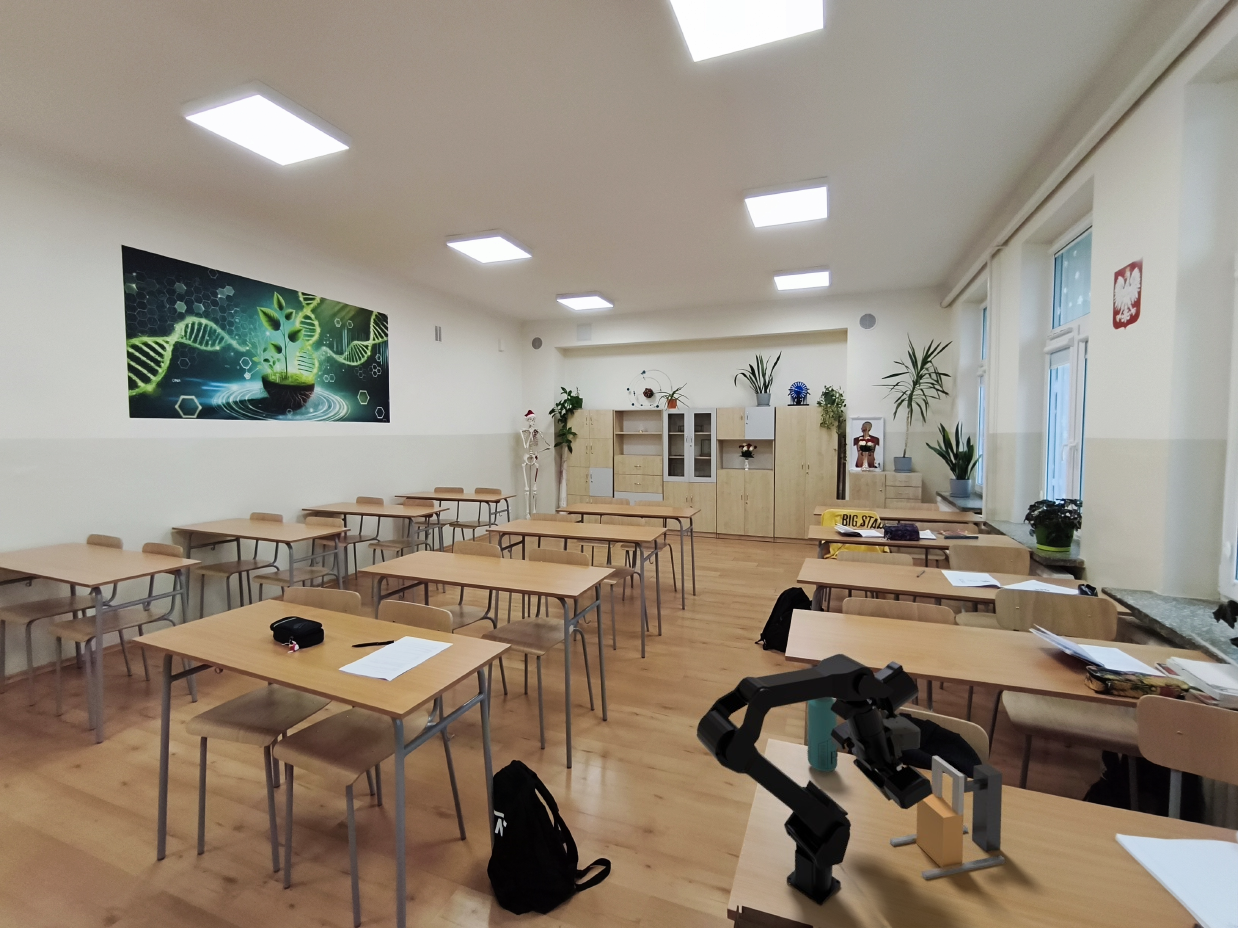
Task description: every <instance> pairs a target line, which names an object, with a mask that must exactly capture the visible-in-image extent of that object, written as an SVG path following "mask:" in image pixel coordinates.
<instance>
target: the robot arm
mask: <svg viewBox="0 0 1238 928" xmlns="http://www.w3.org/2000/svg"><path fill="white" fill-rule="evenodd" d="M919 690H920V689H919V686H918V684H917V683H915V681H914V680H913V679H912V677H911V676H910V675H909V673H907V672H906V671H905V670H904V667H903V665H902V664H900V663H897V662H896V661H893V660H892V661H890V662H889V663H888V664H886V666H885V667H883V668H882V669H880V670H879V671H877V672H876V673H874V671H873V670H872V669H871V667H869V666H867V665H865V664H863V663H861V662H859V661H857V660H855V659H853V658H851V657H850V656H848V655H846V654H843V653H836V654H834V655H831V656H829V657H826V658H823V659H821V660H820V662H819V663H818V665H816V666H813V667H810V668H804V669H798V670H793V671H792V670H791V671H787V672H780V673H775V674H769V675H768V674H767V675H764V676H763V675H762V676H746V677H744V678H742V679H741V680H740V681H739V682H738V684H737V685H736V686H735V687H734V689H732V690H731V691H729V692H728V693H726V694H724V695H722V696H721V697H719V698H718V699H717V700H716V701H715V702H714V704H712V705H711V707H710V708H709V709H708V711H706V713H705V714H704V715H703V716H702V717H701V719H700V720H699V722H698V725H697V727H696V737H697V740H698V741H699V742H700V743H701V744H702V745H703V746H704V748H705V749H706V750H707V751H708V752H709V753H710V754H711V755H712V756H713V758H714V759H715V761H717V762H718V764H719V765H721V766H722V767H723V768H725V769H727V770H730V771H732V772H734V773H737V774H739V775H743V774H744V775H747V776H749V777H750V779H752V780H753V781H755V782H756V783H757V784H759V785H760V786H761V787H762V788H763V789H765V790H766V791H767V792H769V793H770V794H771V795H772V796H773V797H775V798H776V799H778V800H779V801H780V802H781V803H782V804H784V805H785V806H786V807H787V808H789V809H790V810H791V811H792V812H791V814H790V815H789V817H788V818H787V819H786V820H785V822H784V824H783V826H784V830H785V832H786V834H787V836H789V837H790V838H791V839H792V840H793V842H794V843H795V850H794V870H793V871H792V872H790V874H788V875H787V877H786V882H787V883H788V884H789V885H791V886H792V887H794V888H795V889H796V890H797V891H799V892H800V893H802V894H803V895H805V896H806V897H808V898H809V899H811V901H813V902H815V903H816V904H817V905H820V906H821V905H822V906H823V904H825V903H826V902H827V900H829V899H830V898H831V897H832V895H833V894H834V893H835V892H837V890H838V889H840V887H841V885H842V883H841V881H840V880H839V879H838V878H836V877H835V876H833V867H834V866H836V865H839V864H842V863H843V862H844V859H845V855H846V852H847V848H848V845H849V843H850V842H849V841H850V838H851V827H852V824H851V821H850V820H849V818H848V817H847V816H848V815H849V812H847V811H846V810H845V809H844V808H843V806H841V805H840V804H838V803H837V802H836V800H834V799H833V798H832V797H831V796H830V795H828V793H826V792H825V791H824V790H823V788H819V787H818V786H817V785H816V784H815V783H814V782H813V781H811V780H810V779H809V780H808V782H807V784H806V786H802V785H800V784H799V783H797V782H796V781H794V780H793V779H792V778H791V777H790V776H789V775H787V774H786V773H785V772H784V771H782V769H780V768H778V766H777V765H775V764H774V763H773V762H772V761H771V760H769V759H768V758H767V757H765V755H763V754H762V753H761V752H759V750H758V748H757V746H756V745H755V744H756V743H757V742H758V740H759V739H760V736H761V733H762V728H763V725H764V721H765V717H766V715H767V714H768V713H769V712H770V710H771V709H774V708H779V707H785V706H789V705H793V704H795V705H796V704H799V703H804V702H805V703H806V702H808V701H811V700H816V699H821V698H833V699H834V700H835V703H833V704H832V706H831V708H830V710H831V711H832V712H834V713H835V714H836V715H837V717H839V718H841V719H842V720H844V722H842V723H841V724H839V725H837V727H835V728H833V730H832V732H831V738H832V741H833V743H834V744H835V745H836V746H837V749H838V750H840V751H841V752H842V751H844V750H846V744H847V743H849V742H851V743H853V744H854V747H852V748H851V753H852V755H854V756H855V758H854V760H853V761H852V764H853V765H854V766H855V767H856V768H857V769H858V771H860V772H861V773H862V775H864V776H865V777H866V779H867V780H868V782H870V783H871V784H872V785H873V786H874V787H875V788H876V789H877V790H878V791H879V792H880V794H881V795H882V796H883V797H884V798H885V799H886V800H887V801H889V802H890V801H893V802H894V803H895V804H896V805H897V806H898V807H899V808H900V809H902V810H908V809H910V808H911V807H913V806H915V805H917V803H918V802H920V801H921V800H923V799H925V798H926V797H928V796H930V795H931V794H933V789H932V781H931V779H930V778H928V777H926V776H925V775H924V773H922V772H921V771H920V770H918V769H917V768H916V767H915V766H912V765H910V764H908V765H906V766H903V765H904V764H903V762H902V761H901V760H900V759H899V758H900V757H902V756H903V754H902V751H905V750H911V749H915V750H917V749H919V748H920V746H921V745H920V744H921V729H920V728H919V727H918V726H917V725H915V724H914V723H913V722H912V721H910V720H909V719H908V718H907V717H904V716H902V715H899V714H896V711H898V710H899V709H900V708H902V707H903V706H904V705H906V704H908V703H909V702H910V701H912V700H913V699H914V698H916V697H917V696H918V695H919ZM744 707H746V709H745V710H746V711H745V715H744V718H743V722H742V723H741V725H740V726H737V724H735V723H734V722H733V721H732V720H731V719H730V717H731V715H733V714H734V713H736V712H737V711H739V710H741V709H743V708H744Z"/></svg>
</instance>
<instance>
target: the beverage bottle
mask: <svg viewBox="0 0 1238 928" xmlns="http://www.w3.org/2000/svg"><path fill="white" fill-rule="evenodd" d="M835 701H836V699H835V698H821V699H816V700H811V701H807V739H806V743H807V745H806V746H807V752H806V756H807V761H808V764H809V765H810V766H811V767H812V768H814V769H815V770H818V771H821V772H832V771H835V770H836V768H837V767H838V760H839V759H838V755H839V753H838V752H839V749H838V747H837V746H836V745H835V744H834V743H833V741H832V738H831V732H832V730H833V728H835V727H837V726H838V715H836V714H835V713H834V712H832V711H831V710H830V708H831V706H832V704H833V703H835Z"/></svg>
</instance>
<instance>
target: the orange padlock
mask: <svg viewBox="0 0 1238 928" xmlns="http://www.w3.org/2000/svg"><path fill="white" fill-rule="evenodd" d="M943 772H944V773H943ZM961 773H962V772H960V771H958V769H956V768H954V767H953V766H952V765H950V764H949V763H948V762H947V761H945V760H944V759H942V758H941V757H940V756H938V755H933V756H931V786H932V789H933V794H931V795H930V796H928V797H926V798H925V799H923V800H921V801H920V802H918V803H917V804H916V834H917V835H916V842H915V843H916V845H917V846H918V847H919V848H920V849H921V850H923V852H924V853H926V854H927V855H928V856H929V857H930V858H931V859H932V860H933V861H934V862H935V863H936V864H937V865H938V866H939V868H941V867H946V866H951V865H956V864H960V863H963V856H964V855H963V852H964V833H963V825H964V807H965V805H964V804H965V793H964V775H963V774H964V773H963V774H961ZM943 774H947V776H949V777H950V778H951V779H952V784H951V785H952V786H951V787H952V789H951V791H952V792H951V796H952V797H951V802H952V803H951V802H949V801H948V800H947V799H945V798H944V797H943V781H944V779H943V777H944V775H943Z"/></svg>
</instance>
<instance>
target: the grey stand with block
mask: <svg viewBox="0 0 1238 928" xmlns="http://www.w3.org/2000/svg"><path fill="white" fill-rule="evenodd" d="M960 773H961V774H963V775H964V794H966V793H967V794H968V793H972V821H971V822H972V825H971V840H972V842H973V843H975V844H976V845H977V846H978V847H980V849H982V850H983V851H984V852H985V853H989V852H995V851H999V850H1001V836H1002V835H1001V834H1002V833H1001V832H1002V802H1003V800H1002V798H1003V797H1002V795H1003V794H1002V793H1003V773H1002V772H1001V771H999V770H998V769H996V768H995V767H993V766H992V765H991V764H989V763H983V764H978V765H977V764H976V765H973V773H972V774H973V779H970V780H968V776H967V775H966V774H964V773H963V772H960ZM968 832H969V827H967V826H966V825H965V824H963V834H964V833H968ZM916 835H917V833H915V834H910V835H909V834H908V835H904V836H899V837H893V838H890V839H889V844H890V845H892V847H896V846H900V845H906V844H913V843H916ZM1005 860H1006V859H1005V857H1003V856H1002V855H996V856H990V857H986V858H981V859H976V860H971V861H967V862H962V863H960V864H956V865H951V866H946V867H938V868H937V867H936V868H932V869H927V870H922V871H921V877H922V878H923V879H924V880H929V879H934V878H935V879H936V878H939V877H943V876H948V875H953V874H958V873H962V872H963V873H964V872H968V871H973V870H978V869H982V868H987V867H992V866H995V865H996V866H997V865H1001V864H1005V862H1006V861H1005Z"/></svg>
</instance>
